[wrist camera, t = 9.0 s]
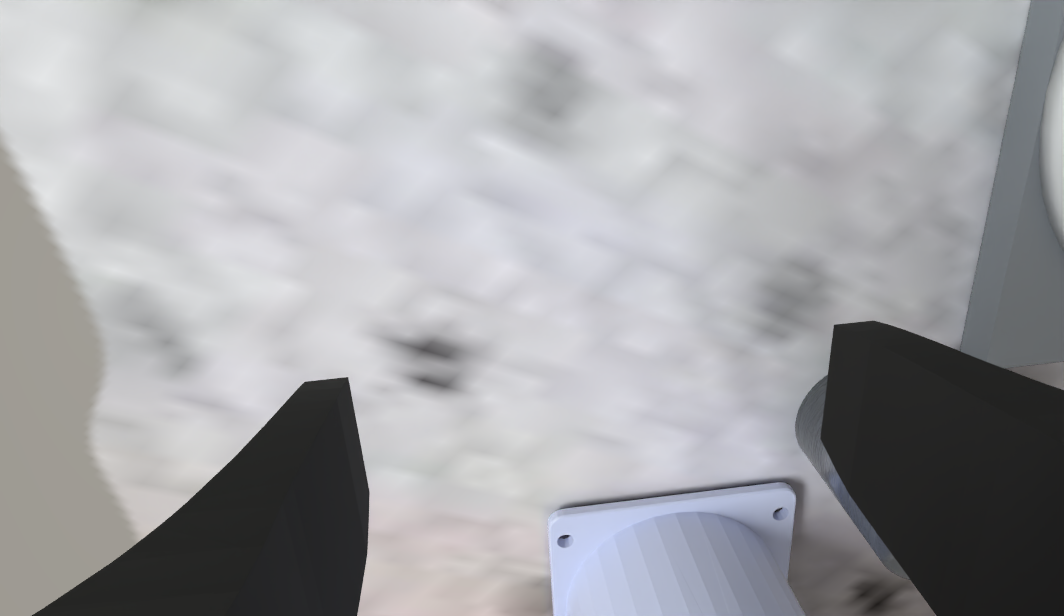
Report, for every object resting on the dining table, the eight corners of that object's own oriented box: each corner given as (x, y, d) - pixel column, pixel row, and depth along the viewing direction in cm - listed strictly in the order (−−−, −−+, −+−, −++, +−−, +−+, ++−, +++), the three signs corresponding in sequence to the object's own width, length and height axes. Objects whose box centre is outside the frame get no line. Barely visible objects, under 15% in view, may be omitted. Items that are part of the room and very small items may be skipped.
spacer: (908, 459, 26) (1008, 571, 21) (790, 474, 26) (866, 590, 21) (927, 353, 24) (1040, 449, 20) (801, 367, 24) (886, 468, 19)
